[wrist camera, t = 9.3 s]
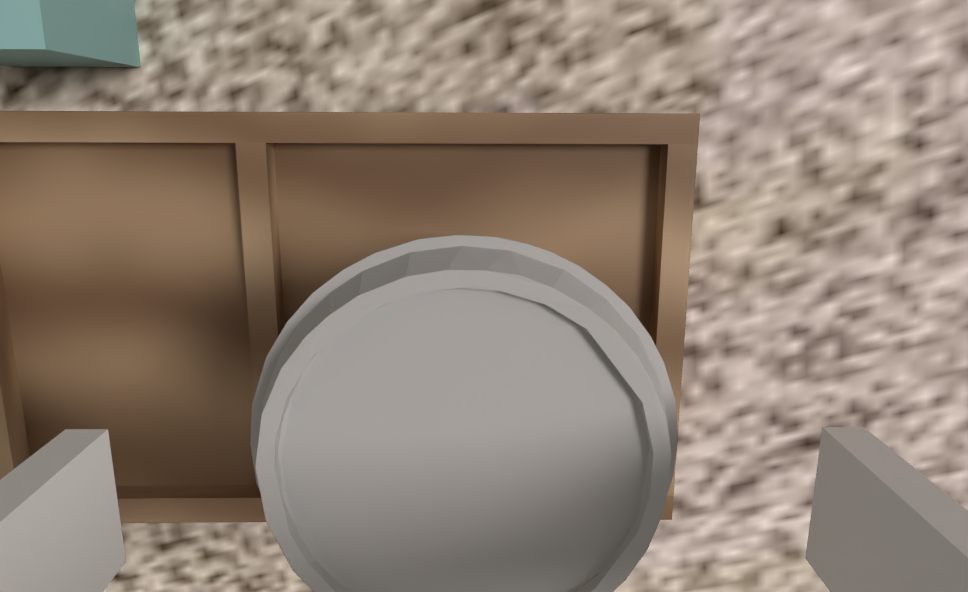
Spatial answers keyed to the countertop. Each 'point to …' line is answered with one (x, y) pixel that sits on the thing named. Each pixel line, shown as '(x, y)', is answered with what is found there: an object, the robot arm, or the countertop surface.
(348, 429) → the disposable coffee cup
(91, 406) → the divided compartment tray
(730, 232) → the countertop surface
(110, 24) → the teal rectangular block
